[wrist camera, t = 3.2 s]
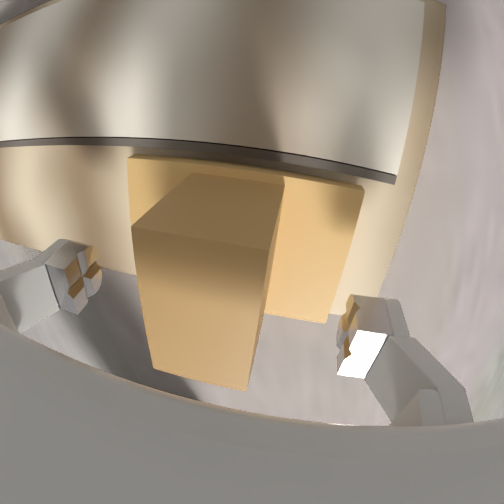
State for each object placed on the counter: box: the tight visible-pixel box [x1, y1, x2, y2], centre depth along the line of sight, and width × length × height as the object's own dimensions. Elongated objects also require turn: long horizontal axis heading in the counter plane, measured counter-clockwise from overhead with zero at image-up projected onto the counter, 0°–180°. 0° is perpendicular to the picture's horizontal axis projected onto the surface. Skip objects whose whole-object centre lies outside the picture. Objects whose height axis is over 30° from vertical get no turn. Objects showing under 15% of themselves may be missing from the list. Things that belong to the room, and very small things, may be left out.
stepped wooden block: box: [127, 154, 365, 391], centre depth 9 cm, size 8×6×5 cm
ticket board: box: [0, 0, 446, 315], centre depth 11 cm, size 24×13×2 cm, turn 85°
